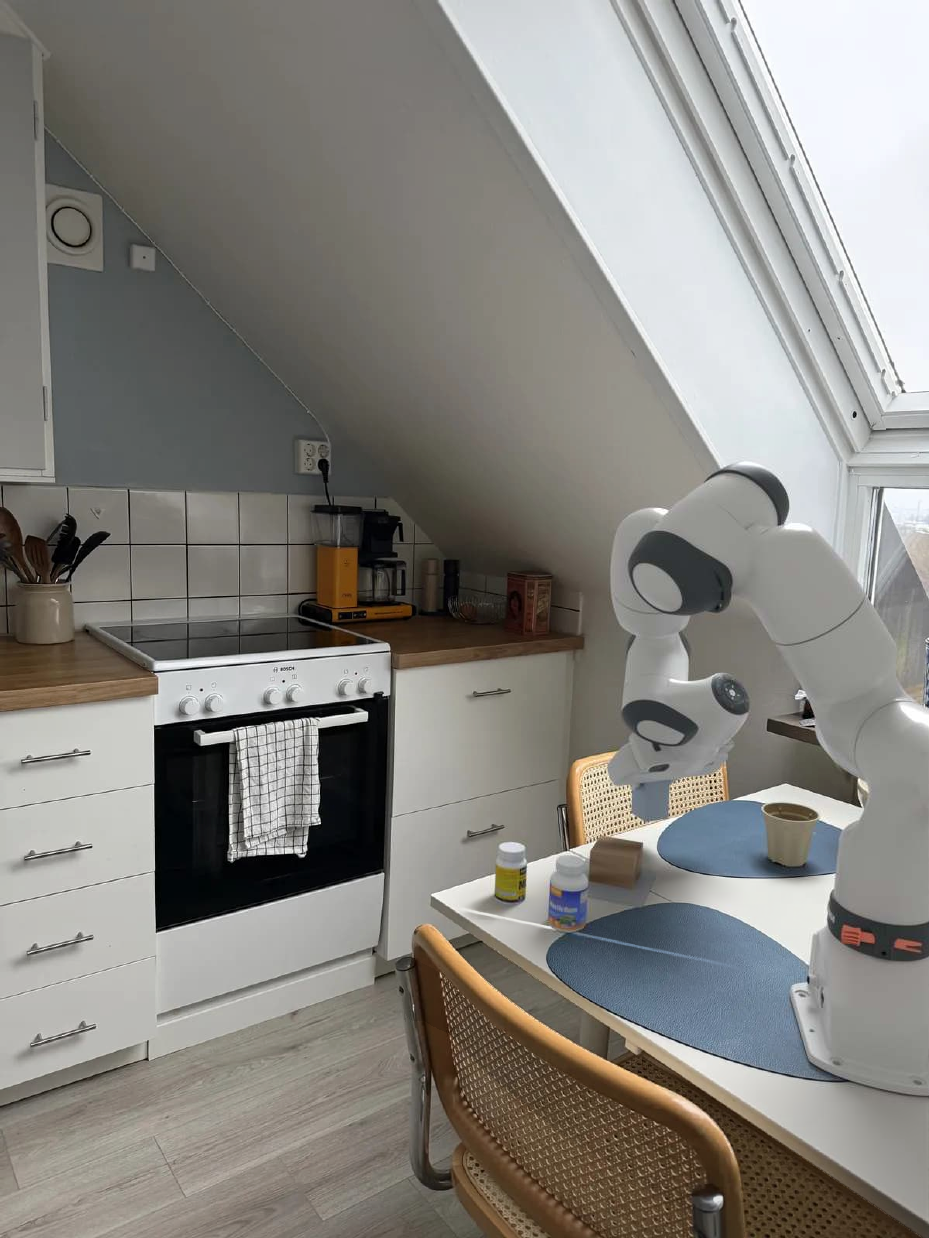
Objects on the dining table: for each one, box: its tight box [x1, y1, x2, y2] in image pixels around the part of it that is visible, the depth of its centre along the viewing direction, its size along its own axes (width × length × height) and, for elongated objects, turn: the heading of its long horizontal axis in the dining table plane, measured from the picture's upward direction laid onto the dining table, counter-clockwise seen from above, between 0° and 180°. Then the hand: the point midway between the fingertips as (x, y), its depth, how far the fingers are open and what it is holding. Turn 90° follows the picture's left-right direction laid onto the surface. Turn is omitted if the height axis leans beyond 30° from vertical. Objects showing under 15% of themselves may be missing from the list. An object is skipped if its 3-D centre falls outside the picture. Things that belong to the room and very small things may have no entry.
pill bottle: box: [547, 854, 588, 934], centre depth 132 cm, size 5×5×10 cm
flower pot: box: [760, 801, 821, 867], centre depth 157 cm, size 9×9×9 cm
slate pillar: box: [630, 780, 671, 823], centre depth 158 cm, size 4×4×10 cm
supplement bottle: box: [493, 841, 528, 906], centre depth 139 cm, size 5×5×8 cm
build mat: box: [583, 857, 659, 909], centre depth 146 cm, size 14×12×1 cm
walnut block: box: [589, 835, 644, 889], centre depth 148 cm, size 7×7×5 cm
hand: (648, 784), depth 158 cm, fingers closed on slate pillar, 4 cm apart
